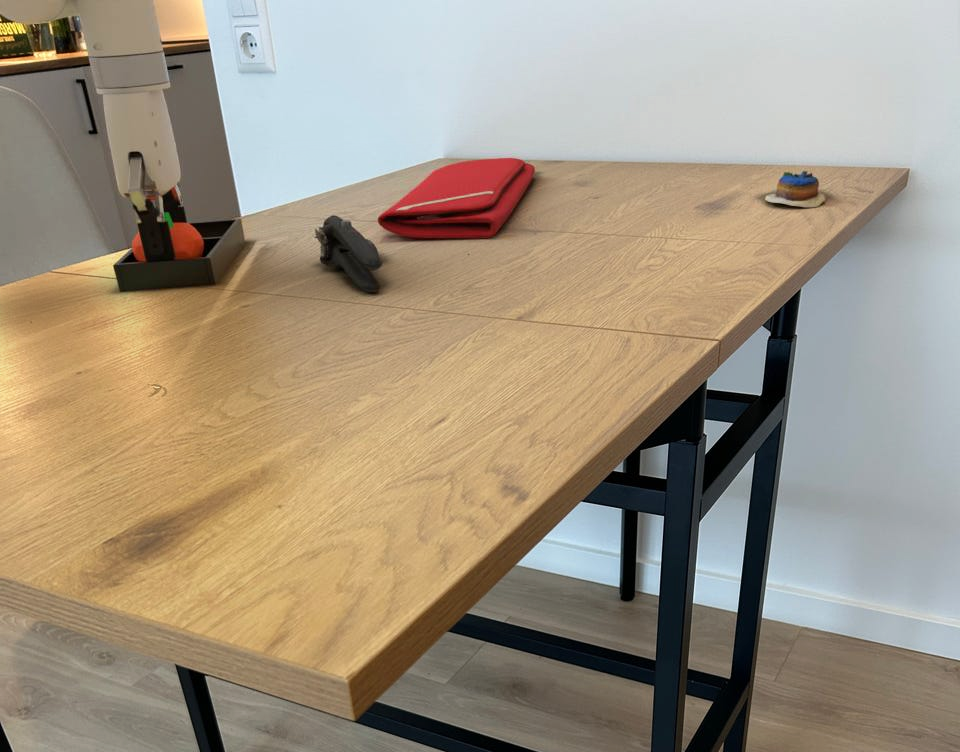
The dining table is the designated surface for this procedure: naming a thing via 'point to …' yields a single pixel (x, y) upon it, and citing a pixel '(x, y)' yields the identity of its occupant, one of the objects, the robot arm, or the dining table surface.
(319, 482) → the dining table surface
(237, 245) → the tray
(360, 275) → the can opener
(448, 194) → the red felt clutch
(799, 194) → the dessert
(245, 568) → the dining table surface
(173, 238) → the pumpkin
